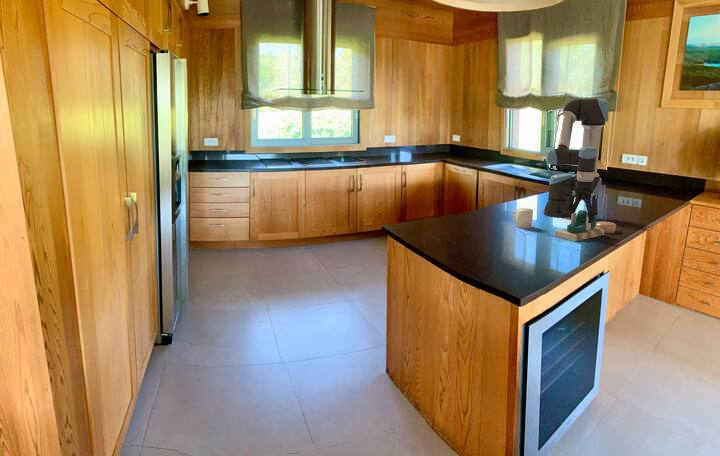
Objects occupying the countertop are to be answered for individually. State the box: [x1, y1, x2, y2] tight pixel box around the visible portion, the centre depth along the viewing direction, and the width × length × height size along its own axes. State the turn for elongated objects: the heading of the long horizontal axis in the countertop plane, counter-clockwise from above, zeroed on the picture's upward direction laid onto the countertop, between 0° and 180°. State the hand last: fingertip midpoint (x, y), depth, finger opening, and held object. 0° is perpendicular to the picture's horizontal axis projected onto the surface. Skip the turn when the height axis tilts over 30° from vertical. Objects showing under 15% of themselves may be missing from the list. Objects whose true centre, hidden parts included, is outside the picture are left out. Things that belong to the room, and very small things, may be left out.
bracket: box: [566, 209, 598, 232], centre depth 239 cm, size 18×7×8 cm, turn 132°
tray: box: [554, 227, 605, 242], centre depth 241 cm, size 22×11×3 cm, turn 121°
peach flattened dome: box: [595, 221, 617, 234], centre depth 249 cm, size 9×9×4 cm
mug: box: [512, 207, 534, 230], centre depth 259 cm, size 8×11×9 cm
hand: (580, 227), depth 240 cm, fingers closed on bracket, 7 cm apart
